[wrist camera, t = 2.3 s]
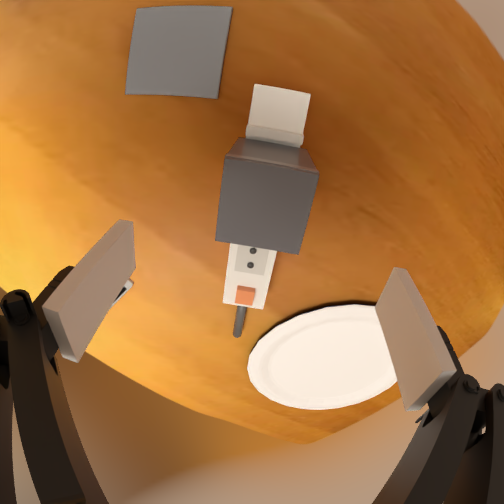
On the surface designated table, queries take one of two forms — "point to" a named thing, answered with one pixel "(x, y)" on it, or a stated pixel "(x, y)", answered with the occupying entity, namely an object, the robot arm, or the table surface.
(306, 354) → the plate
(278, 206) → the grey block
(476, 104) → the table surface
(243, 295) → the power strip
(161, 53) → the mat
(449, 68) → the table surface
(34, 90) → the table surface
